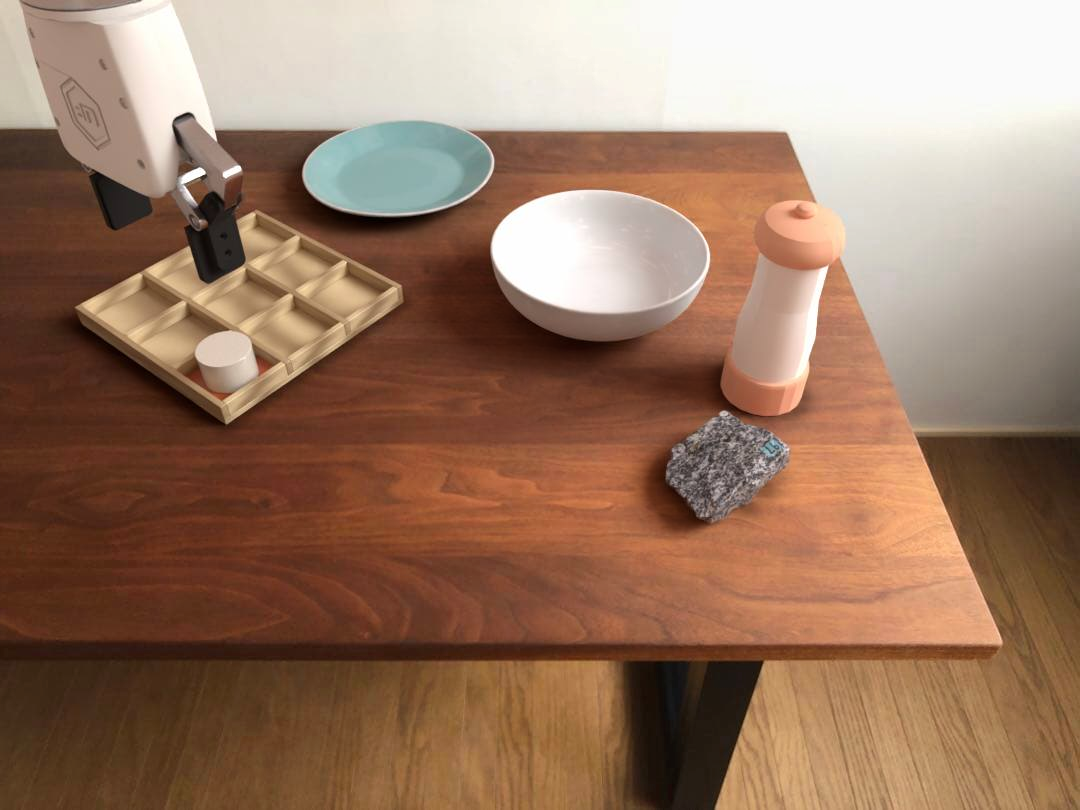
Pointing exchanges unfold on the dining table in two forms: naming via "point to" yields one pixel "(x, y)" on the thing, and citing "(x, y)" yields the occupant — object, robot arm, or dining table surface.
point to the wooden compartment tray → (242, 311)
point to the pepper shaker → (781, 307)
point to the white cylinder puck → (226, 361)
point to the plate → (398, 168)
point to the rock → (724, 465)
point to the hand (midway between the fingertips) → (176, 245)
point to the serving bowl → (599, 263)
